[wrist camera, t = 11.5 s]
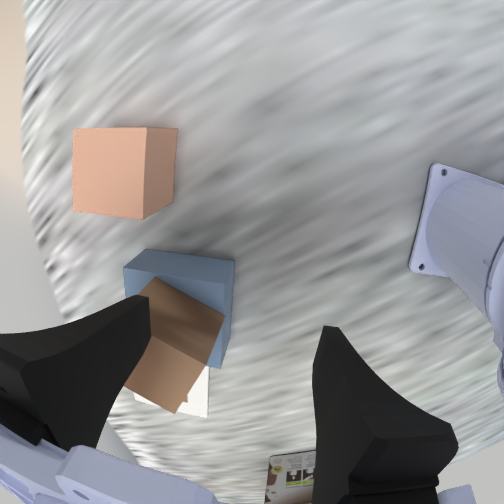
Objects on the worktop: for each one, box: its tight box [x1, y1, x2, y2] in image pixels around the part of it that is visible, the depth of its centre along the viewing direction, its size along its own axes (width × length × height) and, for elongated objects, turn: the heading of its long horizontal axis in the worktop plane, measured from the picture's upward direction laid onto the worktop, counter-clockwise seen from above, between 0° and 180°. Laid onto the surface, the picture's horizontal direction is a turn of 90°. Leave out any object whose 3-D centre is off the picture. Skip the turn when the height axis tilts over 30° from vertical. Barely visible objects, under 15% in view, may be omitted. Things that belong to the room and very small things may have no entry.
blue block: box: [123, 249, 235, 369], centre depth 23 cm, size 7×7×4 cm
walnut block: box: [124, 277, 226, 414], centre depth 18 cm, size 5×5×5 cm
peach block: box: [72, 127, 178, 220], centre depth 19 cm, size 5×5×5 cm
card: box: [134, 366, 209, 418], centre depth 28 cm, size 8×8×1 cm
